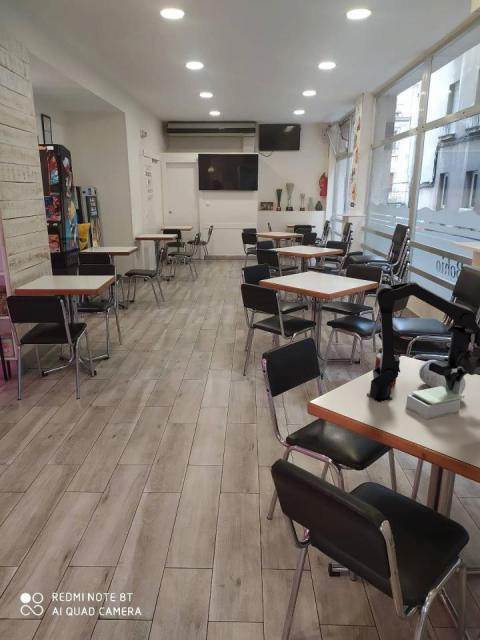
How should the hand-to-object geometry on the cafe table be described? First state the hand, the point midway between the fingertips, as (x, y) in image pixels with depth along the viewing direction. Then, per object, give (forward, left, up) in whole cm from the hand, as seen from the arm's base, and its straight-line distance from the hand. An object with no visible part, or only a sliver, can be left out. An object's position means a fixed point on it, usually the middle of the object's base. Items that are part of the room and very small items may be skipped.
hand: (452, 389), depth 147 cm
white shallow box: (-8, 0, -6) cm, 10 cm away
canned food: (-8, +23, -6) cm, 25 cm away
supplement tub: (+8, +18, -1) cm, 20 cm away
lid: (-6, 0, -1) cm, 6 cm away
